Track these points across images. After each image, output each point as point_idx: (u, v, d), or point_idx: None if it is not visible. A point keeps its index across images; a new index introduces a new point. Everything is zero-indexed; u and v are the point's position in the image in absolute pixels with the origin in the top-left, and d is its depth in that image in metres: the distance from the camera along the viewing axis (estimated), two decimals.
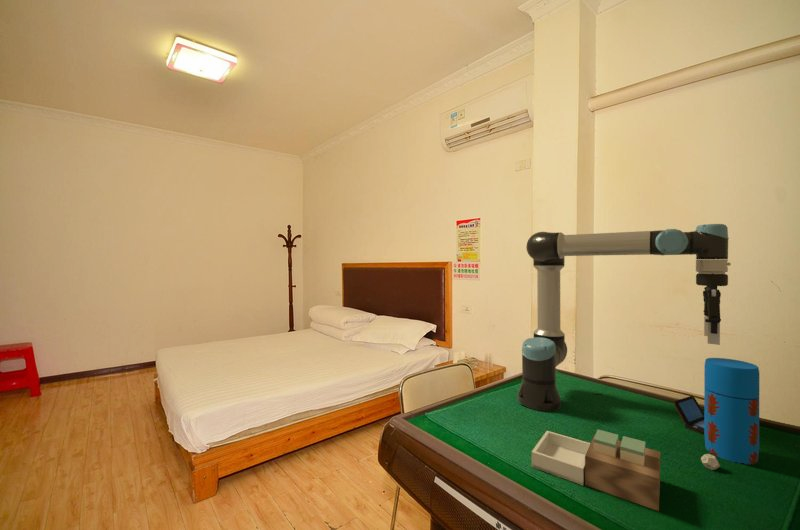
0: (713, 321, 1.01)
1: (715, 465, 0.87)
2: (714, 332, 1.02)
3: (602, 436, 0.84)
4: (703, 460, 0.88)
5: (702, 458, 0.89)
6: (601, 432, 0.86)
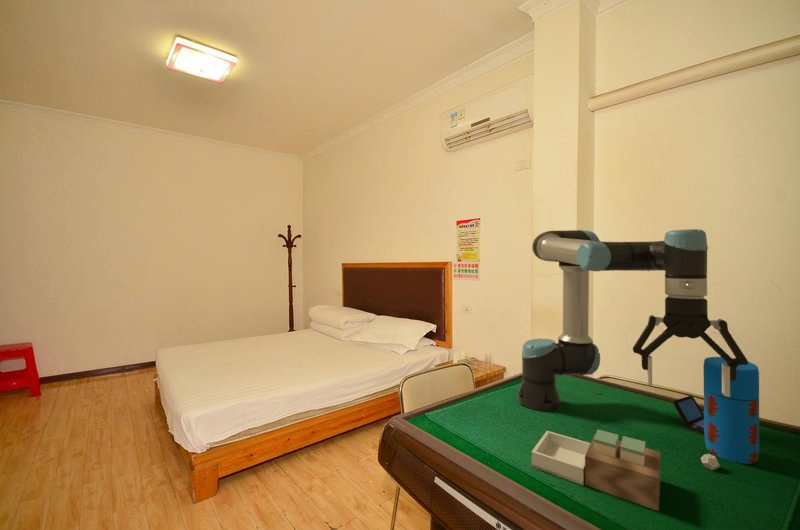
0: None
1: (715, 465, 0.87)
2: (642, 367, 0.83)
3: (602, 436, 0.84)
4: (703, 460, 0.88)
5: (702, 458, 0.89)
6: (601, 432, 0.86)
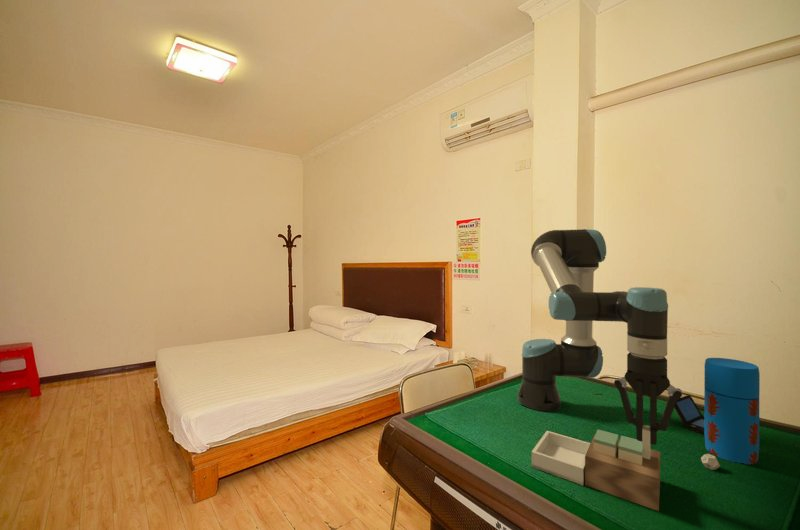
0: None
1: (715, 465, 0.87)
2: None
3: (602, 436, 0.84)
4: (703, 460, 0.88)
5: (702, 458, 0.89)
6: (601, 432, 0.86)
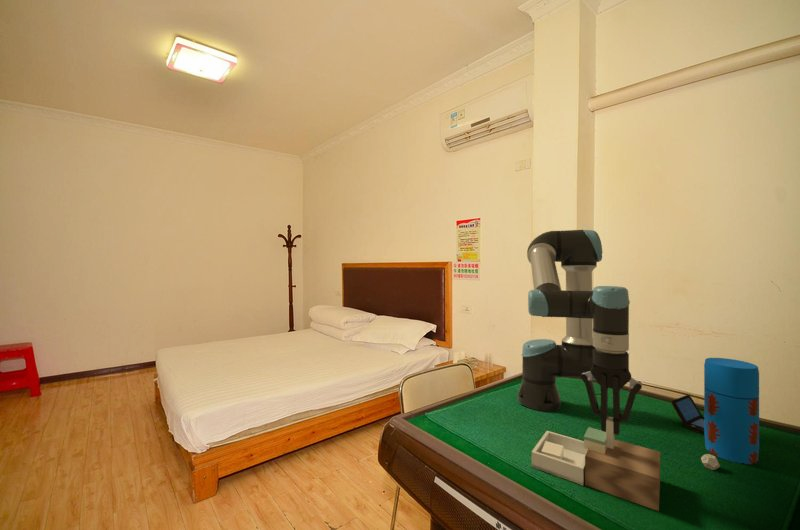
0: None
1: (715, 465, 0.87)
2: None
3: None
4: (703, 460, 0.88)
5: (702, 458, 0.89)
6: None
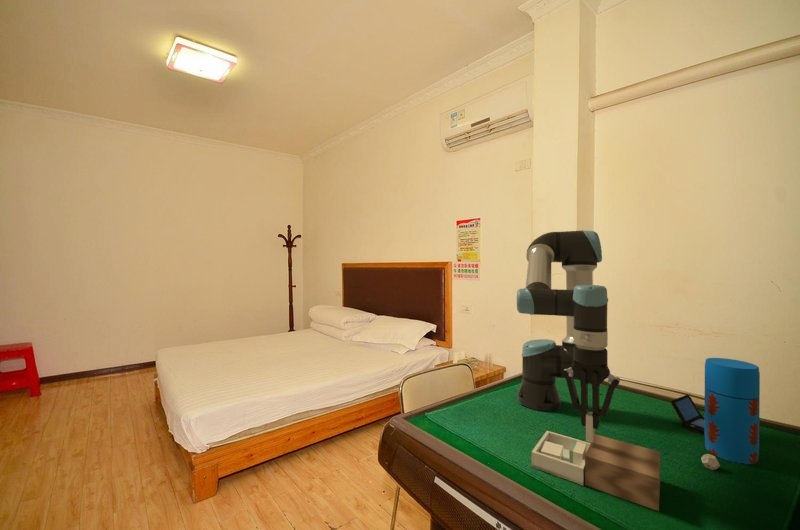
0: None
1: (715, 465, 0.87)
2: None
3: None
4: (703, 460, 0.88)
5: (702, 458, 0.89)
6: None
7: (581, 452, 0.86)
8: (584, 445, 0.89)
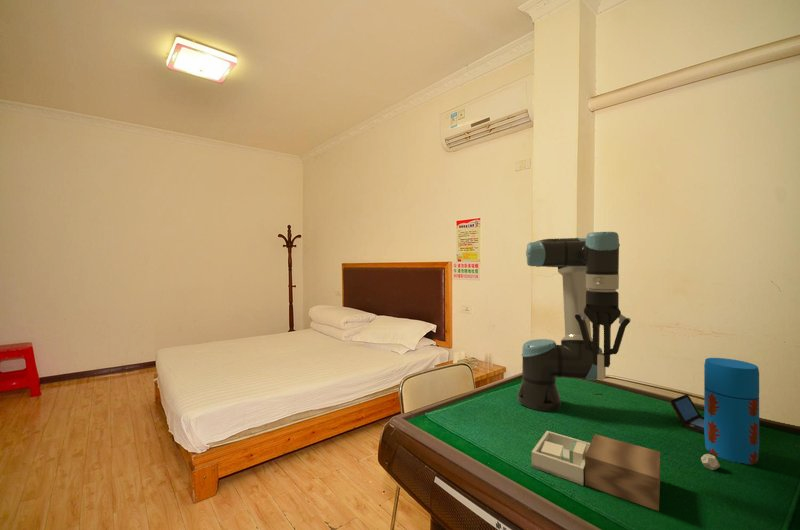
0: None
1: (715, 465, 0.87)
2: None
3: None
4: (703, 460, 0.88)
5: (702, 458, 0.89)
6: None
7: (581, 452, 0.86)
8: (584, 445, 0.89)
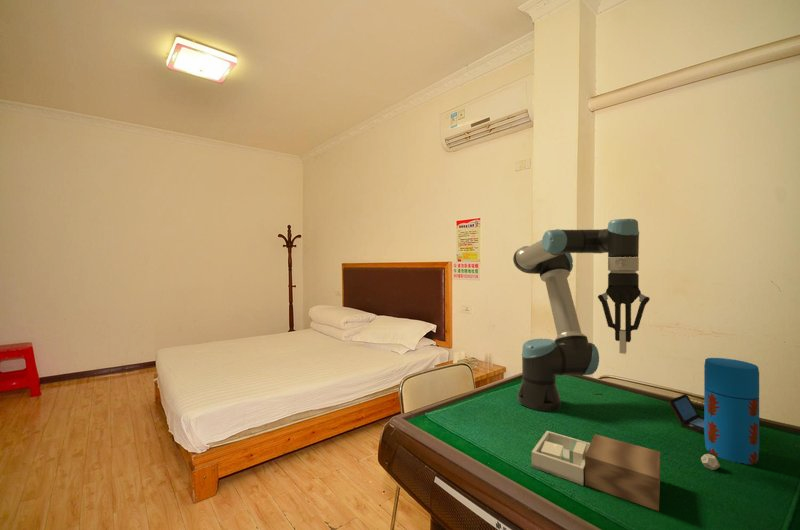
0: (610, 326, 1.02)
1: (715, 465, 0.87)
2: None
3: None
4: (703, 460, 0.88)
5: (702, 458, 0.89)
6: None
7: (581, 452, 0.86)
8: (584, 445, 0.89)
